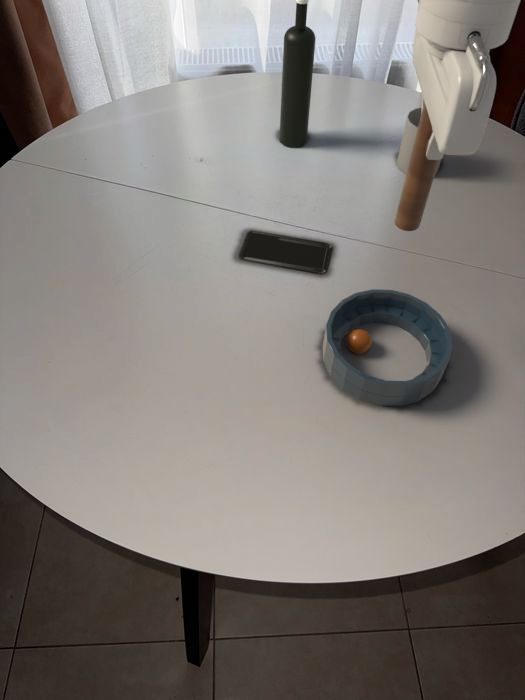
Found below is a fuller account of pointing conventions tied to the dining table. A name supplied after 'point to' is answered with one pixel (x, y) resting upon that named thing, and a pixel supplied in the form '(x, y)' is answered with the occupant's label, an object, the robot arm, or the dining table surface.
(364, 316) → the blue faceted ring
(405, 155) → the cup
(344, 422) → the dining table surface
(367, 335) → the bead
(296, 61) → the wine bottle
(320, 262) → the phone
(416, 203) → the stirring stick
